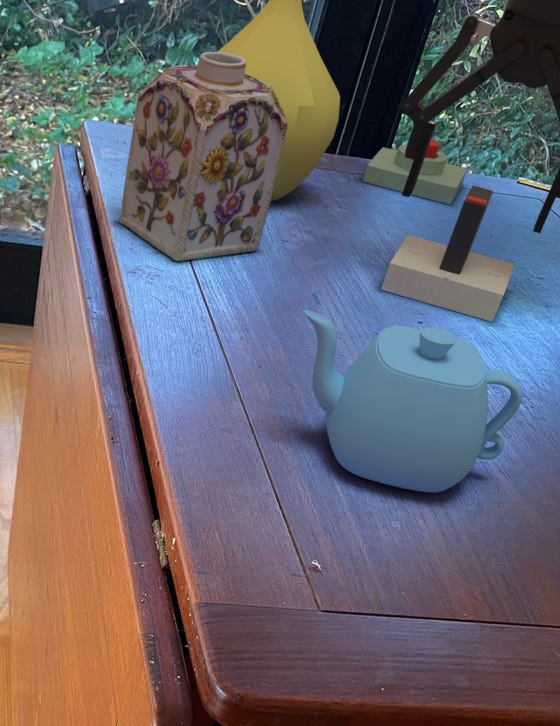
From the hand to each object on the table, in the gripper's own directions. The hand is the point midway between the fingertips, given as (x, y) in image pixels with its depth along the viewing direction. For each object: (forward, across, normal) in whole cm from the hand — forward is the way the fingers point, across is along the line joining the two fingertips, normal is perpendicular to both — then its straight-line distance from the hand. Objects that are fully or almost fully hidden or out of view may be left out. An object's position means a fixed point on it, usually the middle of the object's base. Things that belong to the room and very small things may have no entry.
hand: (471, 211), depth 103 cm
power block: (+8, -10, +35) cm, 37 cm away
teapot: (+9, +1, -39) cm, 40 cm away
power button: (+5, -10, +35) cm, 37 cm away
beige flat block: (+8, 0, 0) cm, 9 cm away
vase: (+9, -28, +15) cm, 33 cm away
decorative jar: (+9, -28, -6) cm, 30 cm away
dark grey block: (+5, 0, 0) cm, 5 cm away
